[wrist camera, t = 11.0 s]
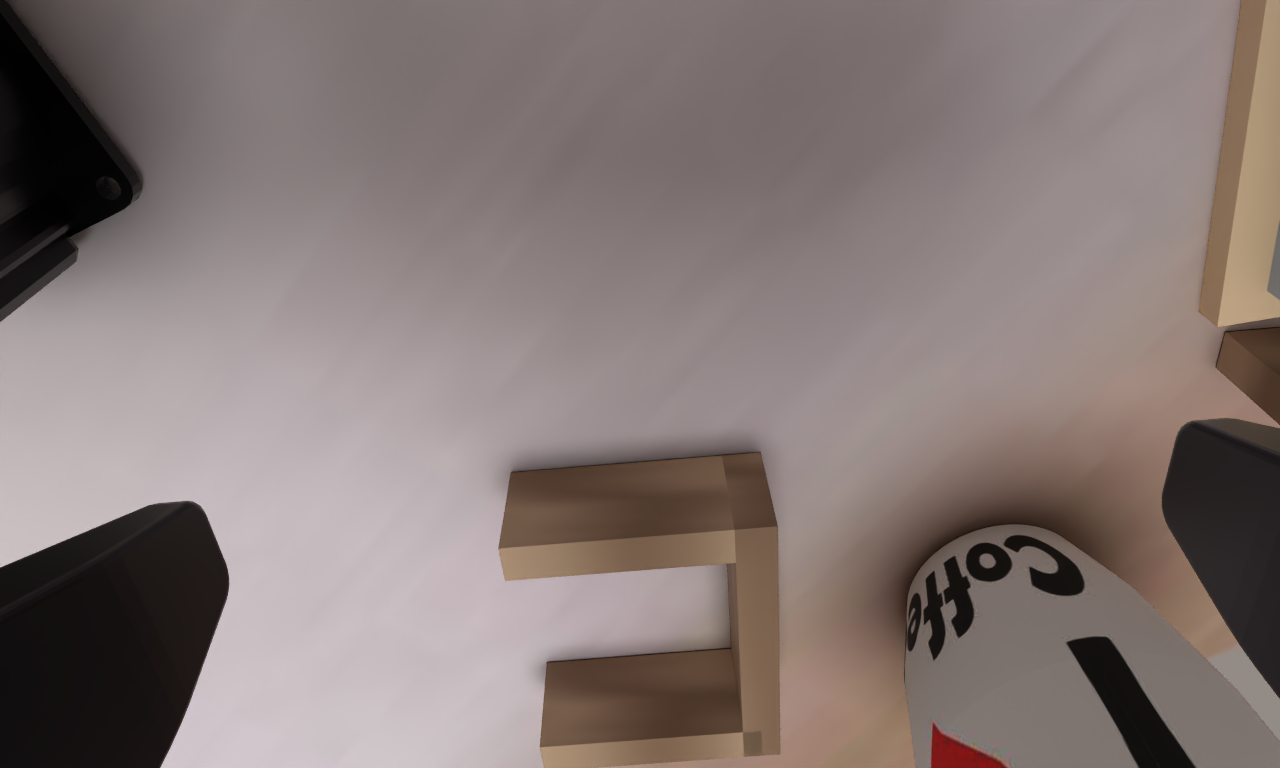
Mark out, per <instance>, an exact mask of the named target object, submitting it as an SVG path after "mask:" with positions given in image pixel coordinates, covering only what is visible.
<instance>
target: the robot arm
mask: <svg viewBox="0 0 1280 768" xmlns="http://www.w3.org/2000/svg"><path fill="white" fill-rule="evenodd" d="M105 176H107V177H110V178H113V179H114V180H115V181H116V182H118V184H119V186H120V188H121V194H118V193H115V192H113V191H111V190H110V189H109V188H108V187H107V185H106V183H105ZM140 193H141V181H140V179H139V177H138V175H137V174H136V172H135V171H134V169H133V168H132V167H131V165H130V164H129V163H128V161H127V160H126V159H125V157H124V156H123V155H122V153H121V152H120V151H119V150H118V148H117V147H116V146H115V144H114V143H113V142H112V140H111V139H110V138H109V136H108V135H107V134H106V132H105V131H104V130H103V128H102V127H101V126H100V125H99V123H98V122H97V121H96V119H95V118H94V117H93V115H92V114H91V113H90V111H89V110H88V109H87V107H86V106H85V105H84V103H83V102H82V101H81V100H80V98H79V97H78V96H77V94H76V93H75V92H74V90H73V89H72V88H71V86H70V85H69V84H68V82H67V81H66V80H65V78H64V77H63V76H62V75H61V73H60V72H59V71H58V69H57V68H56V67H55V65H54V64H53V63H52V61H51V60H50V59H49V57H48V56H47V55H46V53H45V52H44V51H43V50H42V48H41V47H40V46H39V44H38V43H37V42H36V40H35V39H34V38H33V36H32V35H31V34H30V32H29V31H28V30H27V28H26V27H25V26H24V25H23V23H22V22H21V21H20V19H19V18H18V17H17V15H16V14H15V13H14V11H13V10H12V9H11V7H10V6H9V5H8V3H7V2H6V1H5V0H0V322H1V321H2V320H3V319H5V318H6V317H7V316H8V315H10V314H11V313H12V312H13V311H15V310H16V309H17V308H18V307H20V306H21V305H22V304H23V303H25V302H26V301H27V300H28V299H30V298H31V297H32V296H33V295H35V294H36V293H37V292H38V291H40V290H41V289H42V288H43V287H45V286H46V285H47V284H49V283H50V282H51V281H52V280H54V279H55V278H56V277H57V276H59V275H60V274H61V273H62V272H64V271H65V270H66V269H67V268H69V267H70V266H71V265H72V264H74V263H75V262H76V260H77V254H78V247H77V246H76V245H75V244H74V243H73V241H72V240H71V239H70V238H69V237H70V236H72V235H74V234H76V233H78V232H80V231H82V230H84V229H86V228H88V227H90V226H92V225H94V224H96V223H98V222H100V221H102V220H104V219H106V218H108V217H110V216H112V215H114V214H115V213H117V212H119V211H121V210H123V209H125V208H126V207H128V206H129V205H130V204H132V203H133V202H134V201H135V200H136V199H137V198H139V195H140ZM1162 509H1163V514H1164V517H1165V521H1166V523H1167V525H1168V527H1169V529H1170V531H1171V532H1172V534H1173V536H1174V537H1175V539H1176V541H1177V542H1178V544H1179V546H1180V547H1181V549H1182V551H1183V552H1184V554H1185V556H1186V557H1187V559H1188V561H1189V562H1190V564H1191V566H1192V567H1193V569H1194V571H1195V572H1196V574H1197V576H1198V577H1199V579H1200V581H1201V583H1202V584H1203V586H1204V588H1205V589H1206V591H1207V593H1208V594H1209V596H1210V598H1211V599H1212V601H1213V603H1214V604H1215V606H1216V608H1217V609H1218V611H1219V613H1220V614H1221V616H1222V618H1223V619H1224V621H1225V623H1226V624H1227V626H1228V628H1229V629H1230V631H1231V632H1232V634H1233V635H1234V637H1235V638H1236V640H1237V641H1238V643H1239V645H1240V646H1241V648H1242V649H1243V650H1244V652H1245V653H1246V654H1247V656H1248V657H1249V659H1250V660H1251V661H1252V663H1253V664H1254V666H1255V667H1256V668H1257V670H1258V671H1259V672H1260V673H1261V675H1262V676H1263V677H1264V679H1265V680H1266V681H1267V683H1268V684H1269V685H1270V687H1271V688H1272V689H1273V691H1274V692H1275V693H1276V695H1277V696H1278V697H1279V698H1280V428H1275V427H1270V426H1266V425H1261V424H1257V423H1252V422H1248V421H1243V420H1239V419H1231V418H1220V419H1208V420H1195V421H1190V422H1187V423H1186V424H1185V425H1184V426H1182V427H1181V429H1180V430H1179V432H1178V434H1177V437H1176V440H1175V444H1174V448H1173V452H1172V456H1171V460H1170V464H1169V468H1168V472H1167V476H1166V480H1165V484H1164V488H1163V493H1162ZM228 591H229V574H228V569H227V566H226V563H225V560H224V558H223V555H222V553H221V550H220V548H219V545H218V543H217V540H216V538H215V535H214V533H213V530H212V528H211V526H210V523H209V521H208V518H207V516H206V514H205V512H204V510H203V509H202V507H201V506H200V505H198V504H196V503H195V502H192V501H181V502H168V503H157V504H153V505H148V506H146V507H144V508H141V509H139V510H137V511H134V512H132V513H129V514H127V515H125V516H122V517H120V518H117V519H115V520H113V521H110V522H108V523H105V524H103V525H101V526H98V527H96V528H94V529H91V530H89V531H86V532H84V533H82V534H79V535H77V536H74V537H72V538H70V539H67V540H65V541H63V542H60V543H58V544H55V545H53V546H51V547H48V548H46V549H43V550H41V551H39V552H36V553H34V554H31V555H29V556H27V557H24V558H22V559H20V560H17V561H15V562H12V563H10V564H8V565H5V566H3V567H0V768H160V767H161V765H162V763H163V761H164V759H165V757H166V755H167V753H168V751H169V749H170V747H171V745H172V743H173V740H174V738H175V736H176V734H177V732H178V730H179V727H180V725H181V723H182V720H183V718H184V715H185V713H186V711H187V708H188V706H189V703H190V700H191V698H192V695H193V692H194V689H195V686H196V684H197V681H198V678H199V675H200V673H201V670H202V667H203V664H204V661H205V659H206V656H207V653H208V650H209V647H210V645H211V642H212V639H213V636H214V633H215V631H216V628H217V625H218V622H219V619H220V617H221V614H222V611H223V608H224V606H225V603H226V600H227V596H228Z"/></svg>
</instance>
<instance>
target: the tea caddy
mask: <svg viewBox="0 0 1280 768" xmlns="http://www.w3.org/2000/svg"><path fill="white" fill-rule="evenodd" d="M1199 312H1200V313H1201V314H1202V315H1203V316H1204V317H1206V318H1207V319H1208V320H1209V321H1210V322H1212V323H1213V324H1214V325H1215V326H1217V327H1221V326H1228V325H1234V324H1240V323H1246V322H1252V321H1258V320H1264V319H1270V318H1276V317H1280V0H1241V7H1240V15H1239V22H1238V29H1237V36H1236V44H1235V51H1234V58H1233V66H1232V73H1231V80H1230V87H1229V95H1228V102H1227V109H1226V116H1225V124H1224V131H1223V138H1222V146H1221V153H1220V160H1219V167H1218V175H1217V182H1216V189H1215V197H1214V204H1213V211H1212V218H1211V226H1210V233H1209V240H1208V248H1207V255H1206V262H1205V269H1204V277H1203V284H1202V291H1201V299H1200V306H1199Z"/></svg>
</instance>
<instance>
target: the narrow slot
mask: <svg viewBox="0 0 1280 768" xmlns="http://www.w3.org/2000/svg"><path fill="white" fill-rule="evenodd" d="M498 549H499V554H500V559H501V563H502V568H503V573H504V578H505V581H510V580H522V579H535V578H548V577H561V576H574V575H586V574H599V573H612V572H625V571H637V570H650V569H663V568H676V567H688V566H701V565H714V564H727V572H728V593H729V614H730V635H731V649H721V650H708V651H695V652H681V653H668V654H655V655H642V656H629V657H616V658H603V659H589V660H576V661H563V662H550V663H547V668H546V680H545V692H544V704H543V716H542V727H541V739H540V751H541V755H542V760H543V765H544V768H597V767H611V766H625V765H638V764H652V763H666V762H679V761H693V760H707V759H720V758H734V757H747V756H761V755H775V754H780V682H779V594H778V526H777V521H776V517H775V513H774V508H773V504H772V500H771V495H770V491H769V487H768V482H767V478H766V474H765V469H764V465H763V461H762V456H761V452H759V453H747V454H734V455H722V456H710V457H697V458H685V459H673V460H660V461H648V462H636V463H623V464H611V465H599V466H586V467H574V468H562V469H549V470H537V471H525V472H512V473H511V475H510V481H509V487H508V493H507V499H506V506H505V512H504V518H503V524H502V530H501V536H500V542H499V548H498Z"/></svg>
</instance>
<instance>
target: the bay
mask: <svg viewBox="0 0 1280 768" xmlns="http://www.w3.org/2000/svg"><path fill="white" fill-rule="evenodd" d="M1216 368H1217V369H1218V370H1219V371H1220V372H1221V373H1222V374H1223V375H1225V376H1226V377H1227V378H1228V379H1229V380H1230V381H1231V382H1232V383H1234V384H1235V385H1236V386H1237V387H1238V388H1239V389H1240V390H1241V391H1242V392H1244V393H1245V394H1246V395H1247V396H1248V397H1249V398H1250V399H1251V400H1252V401H1254V402H1255V403H1256V404H1257V405H1258V406H1259V407H1260V408H1261V409H1263V410H1264V411H1265V412H1266V413H1267V414H1268V415H1269V416H1270V417H1271V418H1273V419H1274V420H1275V421H1276V422H1277V423H1278V424H1279V425H1280V328H1270V329H1258V330H1246V331H1234V332H1225V336H1224V340H1223V344H1222V347H1221V351H1220V355H1219V359H1218V363H1217V366H1216Z"/></svg>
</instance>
